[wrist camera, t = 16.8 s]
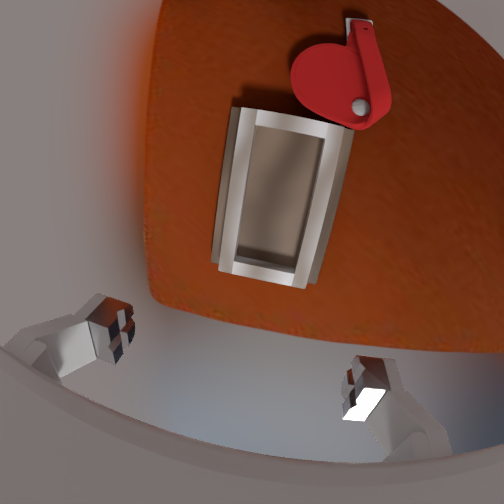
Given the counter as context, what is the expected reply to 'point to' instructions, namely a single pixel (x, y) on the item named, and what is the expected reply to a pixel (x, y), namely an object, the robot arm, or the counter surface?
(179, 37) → the counter surface
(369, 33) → the tracker holder
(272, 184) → the grey rectangular tray
